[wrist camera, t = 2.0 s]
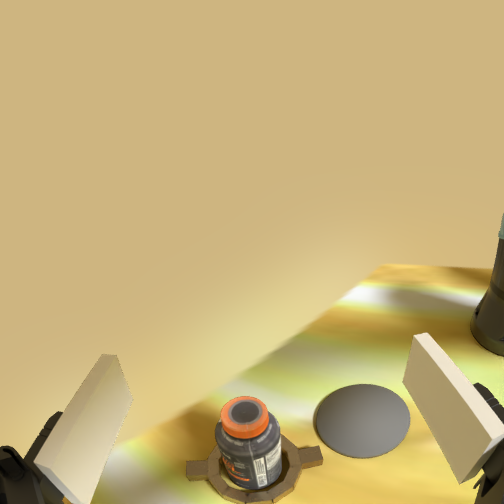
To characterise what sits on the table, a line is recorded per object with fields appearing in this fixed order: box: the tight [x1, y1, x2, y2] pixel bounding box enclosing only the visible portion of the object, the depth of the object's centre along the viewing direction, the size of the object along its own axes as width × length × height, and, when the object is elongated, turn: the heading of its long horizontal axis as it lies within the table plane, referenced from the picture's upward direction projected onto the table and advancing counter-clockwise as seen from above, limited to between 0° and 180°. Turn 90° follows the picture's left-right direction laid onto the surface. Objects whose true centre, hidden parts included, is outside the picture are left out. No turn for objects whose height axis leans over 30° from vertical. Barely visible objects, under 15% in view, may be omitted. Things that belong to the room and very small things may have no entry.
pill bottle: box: [215, 396, 282, 490], centre depth 25 cm, size 6×6×11 cm
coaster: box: [316, 384, 410, 458], centre depth 31 cm, size 12×12×1 cm
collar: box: [186, 434, 323, 504], centre depth 26 cm, size 15×10×1 cm
